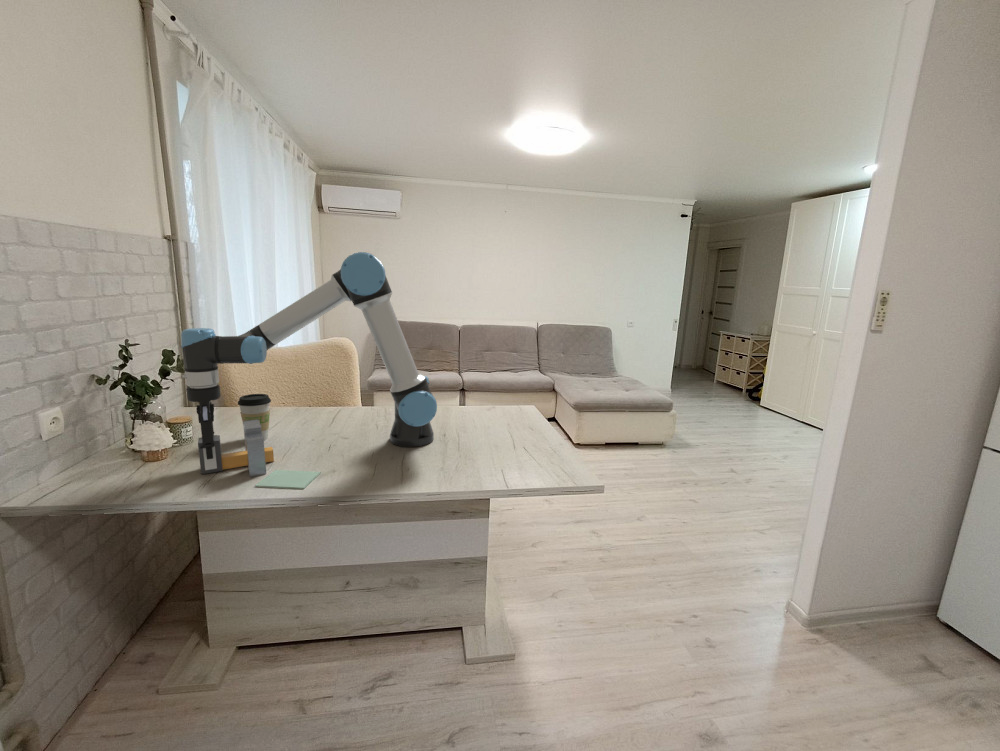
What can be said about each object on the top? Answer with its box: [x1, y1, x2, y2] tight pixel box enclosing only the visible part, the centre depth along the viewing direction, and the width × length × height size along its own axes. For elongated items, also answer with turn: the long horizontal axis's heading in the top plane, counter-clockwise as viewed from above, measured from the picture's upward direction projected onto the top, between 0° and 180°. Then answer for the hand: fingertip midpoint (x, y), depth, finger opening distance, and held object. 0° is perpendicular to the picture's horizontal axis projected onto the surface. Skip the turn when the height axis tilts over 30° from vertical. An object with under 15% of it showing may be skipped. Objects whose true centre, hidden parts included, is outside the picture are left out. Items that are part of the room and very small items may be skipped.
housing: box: [242, 419, 267, 478], centre depth 127 cm, size 4×20×12 cm, turn 33°
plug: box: [197, 434, 275, 475], centre depth 125 cm, size 18×5×9 cm, turn 123°
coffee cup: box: [237, 393, 272, 441], centre depth 146 cm, size 10×10×15 cm
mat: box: [254, 469, 321, 490], centre depth 118 cm, size 13×10×1 cm
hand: (211, 465), depth 122 cm, fingers closed on plug, 5 cm apart
